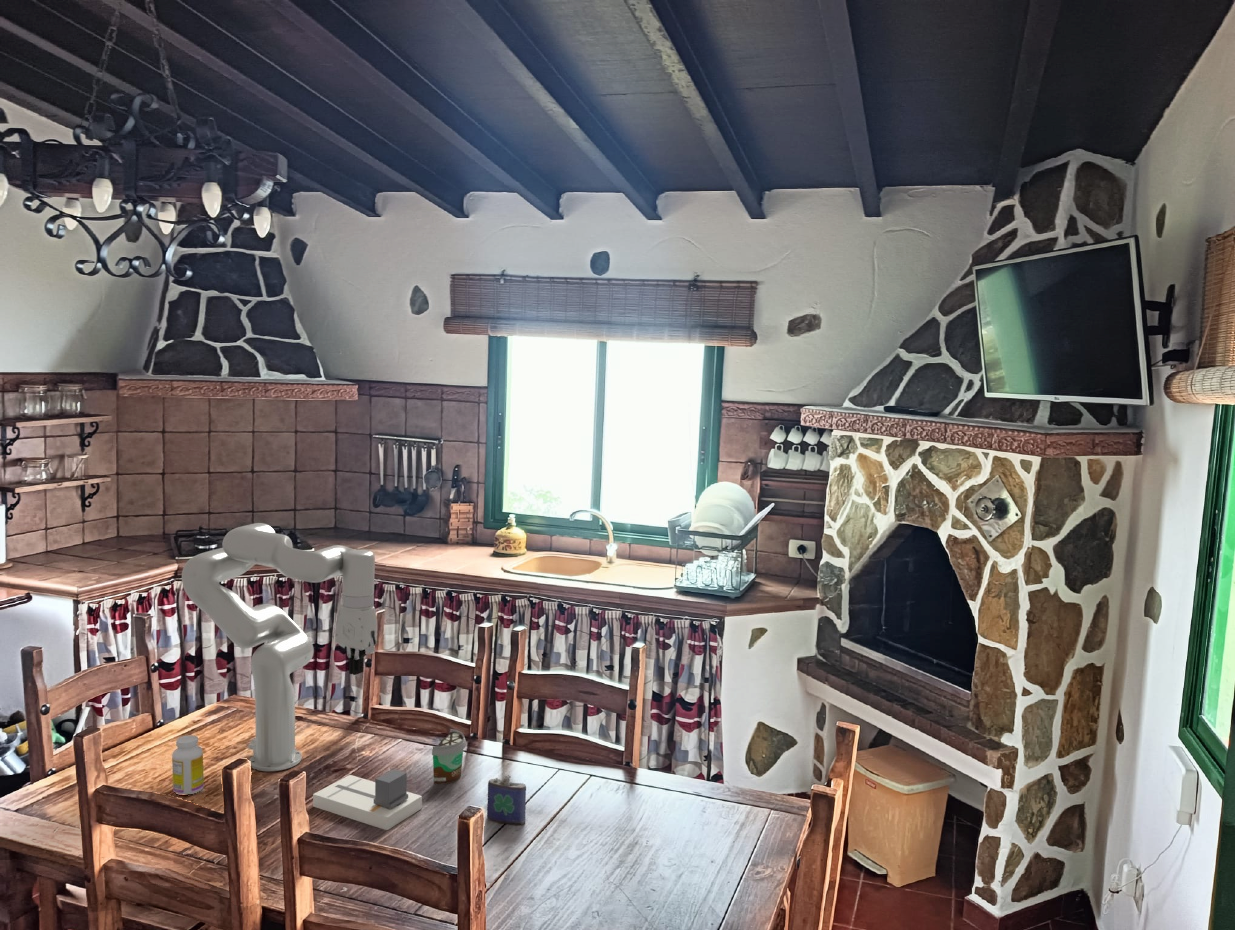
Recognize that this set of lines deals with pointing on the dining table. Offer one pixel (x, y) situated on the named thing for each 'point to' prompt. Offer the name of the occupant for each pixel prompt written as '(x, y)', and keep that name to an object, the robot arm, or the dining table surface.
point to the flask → (506, 801)
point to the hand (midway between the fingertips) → (356, 672)
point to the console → (363, 803)
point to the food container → (448, 758)
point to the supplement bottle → (187, 766)
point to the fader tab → (391, 789)
